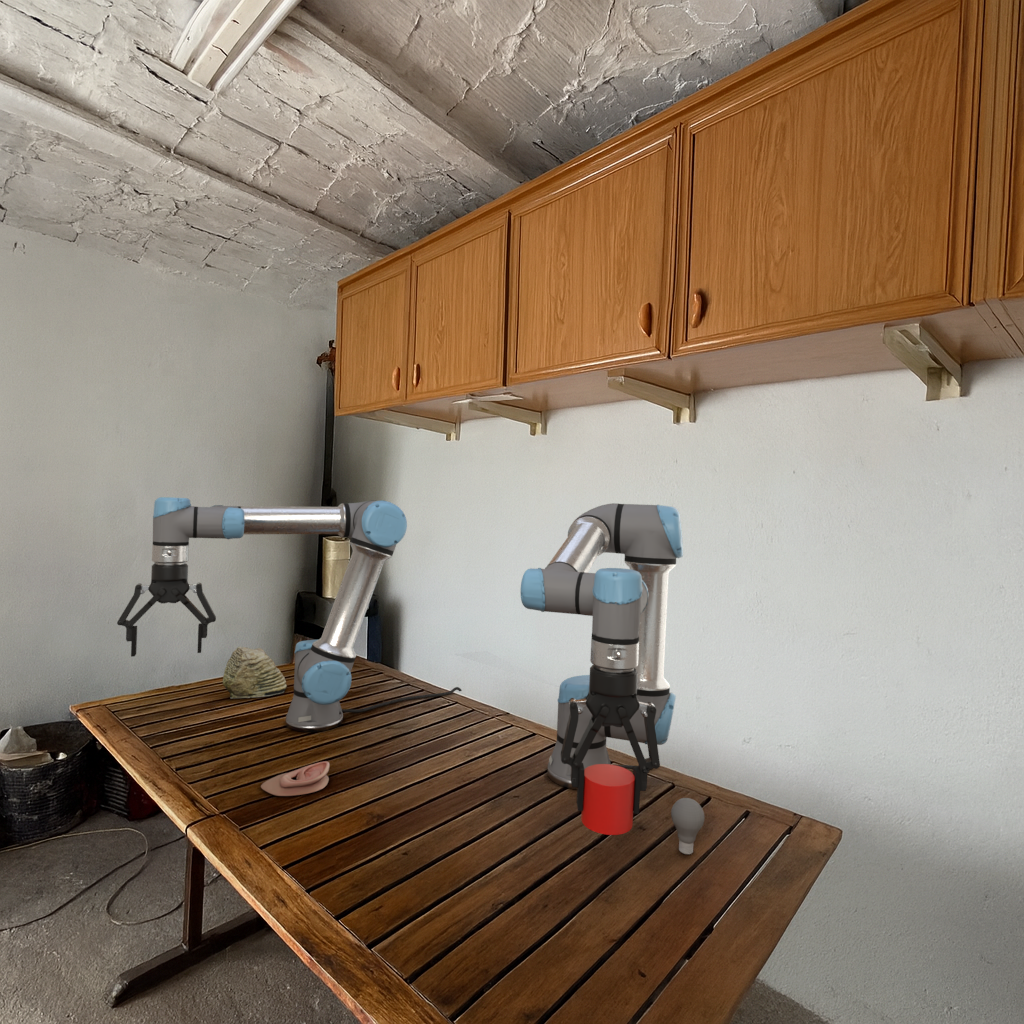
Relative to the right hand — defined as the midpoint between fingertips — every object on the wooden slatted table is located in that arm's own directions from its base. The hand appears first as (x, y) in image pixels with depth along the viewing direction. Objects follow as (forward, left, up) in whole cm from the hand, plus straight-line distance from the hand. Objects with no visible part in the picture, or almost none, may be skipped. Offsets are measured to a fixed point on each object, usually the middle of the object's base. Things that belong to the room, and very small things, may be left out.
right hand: (607, 808), depth 101 cm
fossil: (+34, -131, -16) cm, 137 cm away
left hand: (+60, -90, +9) cm, 108 cm away
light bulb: (-24, -6, -16) cm, 29 cm away
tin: (0, 0, -2) cm, 2 cm away
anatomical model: (+35, -63, -16) cm, 74 cm away
